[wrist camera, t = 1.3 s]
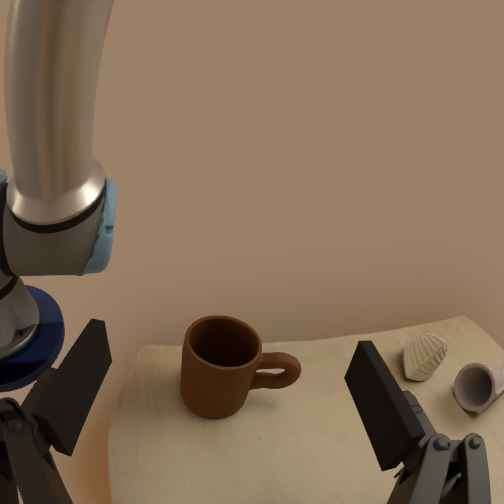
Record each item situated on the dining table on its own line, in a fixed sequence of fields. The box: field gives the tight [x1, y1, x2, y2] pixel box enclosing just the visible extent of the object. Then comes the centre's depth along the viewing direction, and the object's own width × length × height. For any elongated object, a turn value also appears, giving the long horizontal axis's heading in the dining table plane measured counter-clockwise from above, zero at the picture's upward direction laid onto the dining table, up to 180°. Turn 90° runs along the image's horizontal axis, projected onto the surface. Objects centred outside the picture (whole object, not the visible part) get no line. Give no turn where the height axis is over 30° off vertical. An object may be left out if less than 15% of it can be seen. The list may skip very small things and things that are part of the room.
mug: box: [181, 316, 301, 419], centre depth 28 cm, size 12×8×9 cm, turn 83°
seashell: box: [404, 334, 448, 381], centre depth 39 cm, size 8×8×8 cm
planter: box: [454, 363, 504, 414], centre depth 35 cm, size 8×9×26 cm
